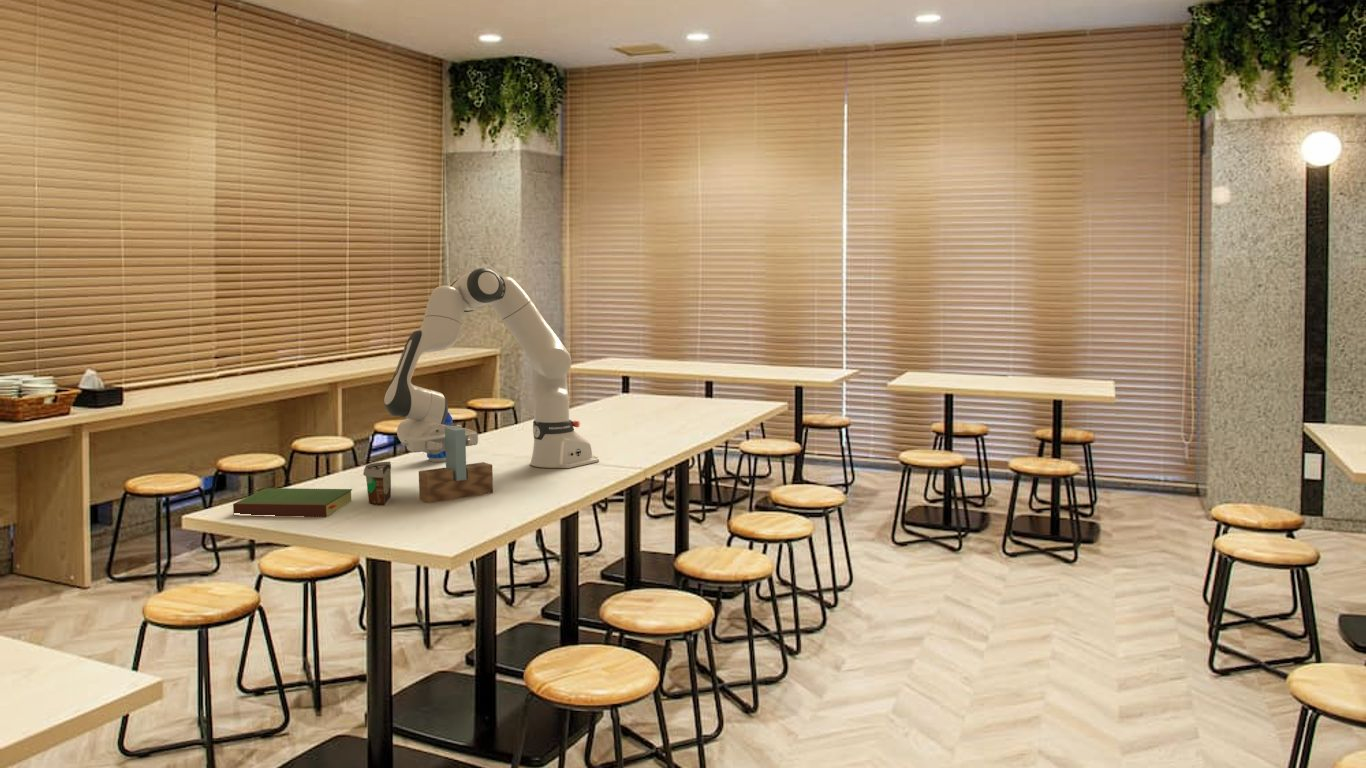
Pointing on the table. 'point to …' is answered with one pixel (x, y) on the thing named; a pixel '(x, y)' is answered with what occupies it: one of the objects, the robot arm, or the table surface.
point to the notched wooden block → (455, 483)
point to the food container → (378, 482)
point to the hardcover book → (294, 502)
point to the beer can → (442, 455)
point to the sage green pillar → (456, 452)
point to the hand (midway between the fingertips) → (455, 444)
